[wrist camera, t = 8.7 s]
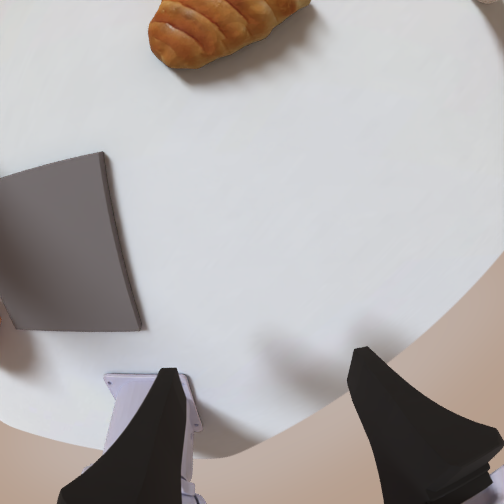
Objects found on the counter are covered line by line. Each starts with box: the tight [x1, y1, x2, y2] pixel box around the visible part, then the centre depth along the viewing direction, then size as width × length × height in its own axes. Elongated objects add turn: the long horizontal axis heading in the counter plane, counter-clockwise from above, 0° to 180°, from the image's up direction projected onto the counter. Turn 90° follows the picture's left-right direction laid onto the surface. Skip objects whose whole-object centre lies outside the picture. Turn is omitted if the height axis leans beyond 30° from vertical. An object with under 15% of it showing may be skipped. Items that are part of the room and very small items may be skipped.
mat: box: [0, 152, 142, 332], centre depth 18 cm, size 13×13×1 cm
